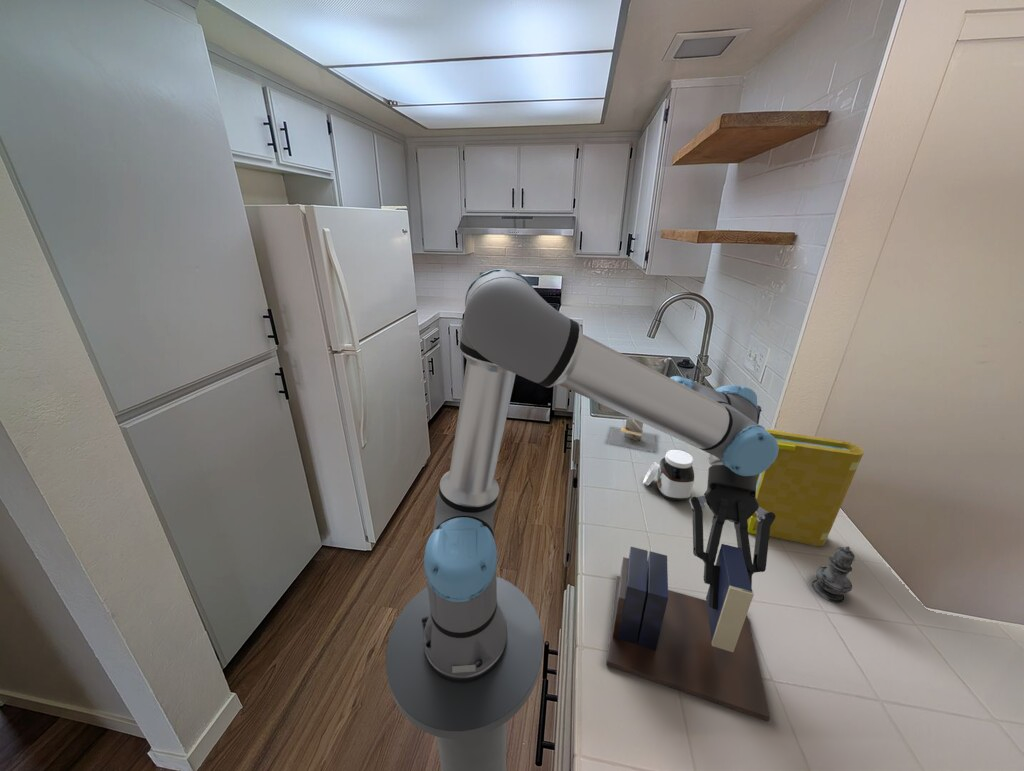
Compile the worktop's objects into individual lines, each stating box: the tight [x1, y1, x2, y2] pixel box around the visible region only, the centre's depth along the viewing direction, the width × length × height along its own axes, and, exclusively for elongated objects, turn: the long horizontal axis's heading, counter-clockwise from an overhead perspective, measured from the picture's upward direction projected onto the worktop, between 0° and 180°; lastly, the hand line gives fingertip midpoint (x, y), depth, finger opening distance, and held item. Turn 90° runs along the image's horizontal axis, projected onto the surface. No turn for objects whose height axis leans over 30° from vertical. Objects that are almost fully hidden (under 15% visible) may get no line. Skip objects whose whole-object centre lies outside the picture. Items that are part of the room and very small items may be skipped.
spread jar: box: [642, 449, 695, 501], centre depth 105 cm, size 12×11×12 cm
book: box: [747, 428, 865, 547], centre depth 88 cm, size 17×7×25 cm, turn 72°
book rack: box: [605, 546, 771, 722], centre depth 66 cm, size 24×18×14 cm
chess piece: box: [811, 546, 856, 604], centre depth 76 cm, size 6×6×12 cm
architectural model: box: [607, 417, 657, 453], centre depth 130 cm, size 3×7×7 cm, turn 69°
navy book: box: [705, 543, 755, 652], centre depth 62 cm, size 3×9×13 cm, turn 161°
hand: (725, 611), depth 62 cm, fingers closed on navy book, 3 cm apart
